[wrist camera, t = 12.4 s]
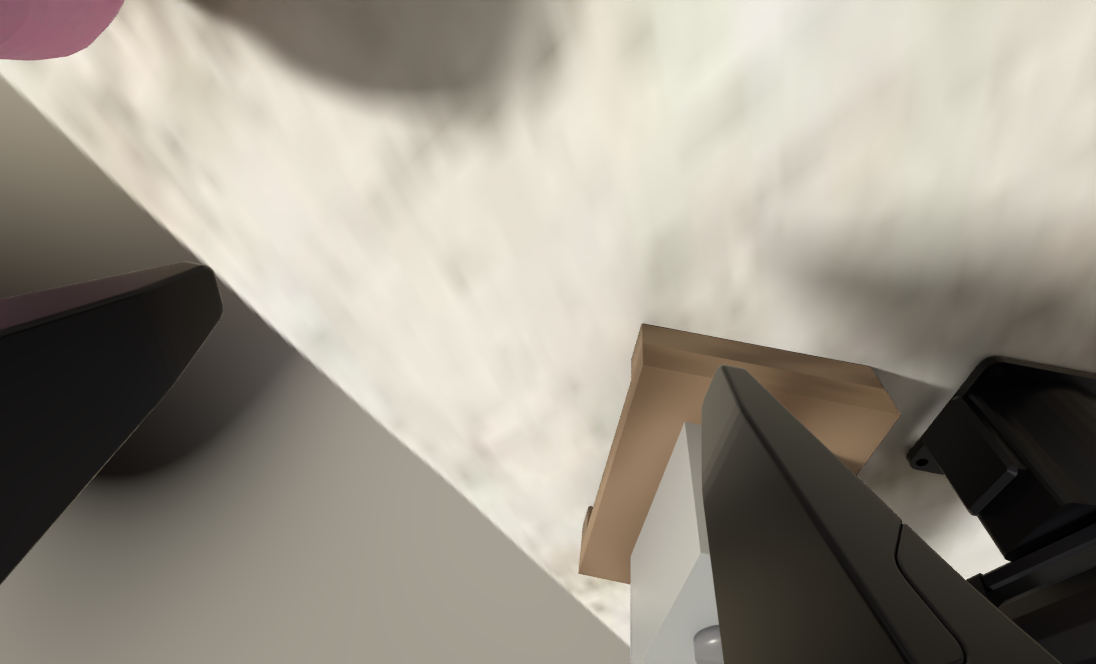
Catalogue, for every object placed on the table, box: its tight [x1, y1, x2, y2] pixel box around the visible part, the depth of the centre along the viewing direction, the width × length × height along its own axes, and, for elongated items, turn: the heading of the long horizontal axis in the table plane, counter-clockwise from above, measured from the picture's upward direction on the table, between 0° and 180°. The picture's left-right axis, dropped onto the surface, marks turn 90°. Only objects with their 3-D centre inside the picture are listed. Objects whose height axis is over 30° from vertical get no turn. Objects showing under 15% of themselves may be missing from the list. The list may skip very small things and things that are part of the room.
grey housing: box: [630, 422, 724, 664], centre depth 21 cm, size 10×5×7 cm, turn 172°
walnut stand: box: [578, 324, 901, 584], centre depth 25 cm, size 10×15×3 cm, turn 172°
